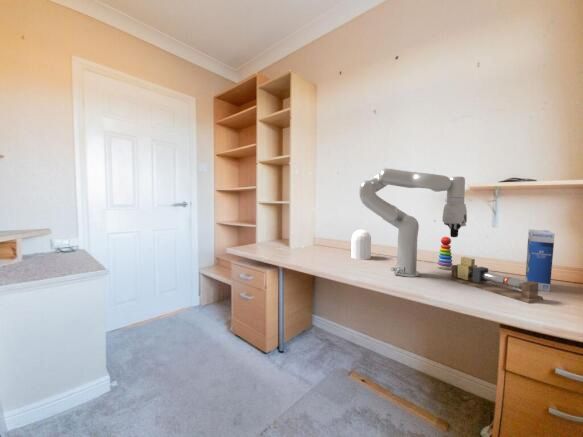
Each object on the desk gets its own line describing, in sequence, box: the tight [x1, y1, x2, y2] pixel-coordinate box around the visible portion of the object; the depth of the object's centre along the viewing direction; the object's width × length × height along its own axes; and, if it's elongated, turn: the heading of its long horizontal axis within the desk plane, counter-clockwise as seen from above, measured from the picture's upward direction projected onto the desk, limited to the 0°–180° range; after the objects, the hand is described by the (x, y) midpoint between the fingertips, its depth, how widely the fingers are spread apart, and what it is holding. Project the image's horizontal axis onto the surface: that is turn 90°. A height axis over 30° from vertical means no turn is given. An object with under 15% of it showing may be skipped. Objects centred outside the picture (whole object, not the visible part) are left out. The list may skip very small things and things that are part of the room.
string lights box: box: [524, 229, 556, 293], centre depth 114 cm, size 13×8×26 cm, turn 141°
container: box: [350, 229, 372, 261], centre depth 174 cm, size 14×13×20 cm
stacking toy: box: [436, 236, 453, 271], centre depth 146 cm, size 8×8×19 cm
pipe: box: [469, 268, 526, 291], centre depth 113 cm, size 30×4×4 cm, turn 22°
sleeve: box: [457, 256, 478, 280], centre depth 122 cm, size 5×7×10 cm
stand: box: [446, 264, 544, 304], centre depth 113 cm, size 33×10×7 cm, turn 22°
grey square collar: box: [472, 266, 489, 283], centre depth 117 cm, size 3×6×6 cm, turn 112°
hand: (454, 236), depth 128 cm, fingers closed
